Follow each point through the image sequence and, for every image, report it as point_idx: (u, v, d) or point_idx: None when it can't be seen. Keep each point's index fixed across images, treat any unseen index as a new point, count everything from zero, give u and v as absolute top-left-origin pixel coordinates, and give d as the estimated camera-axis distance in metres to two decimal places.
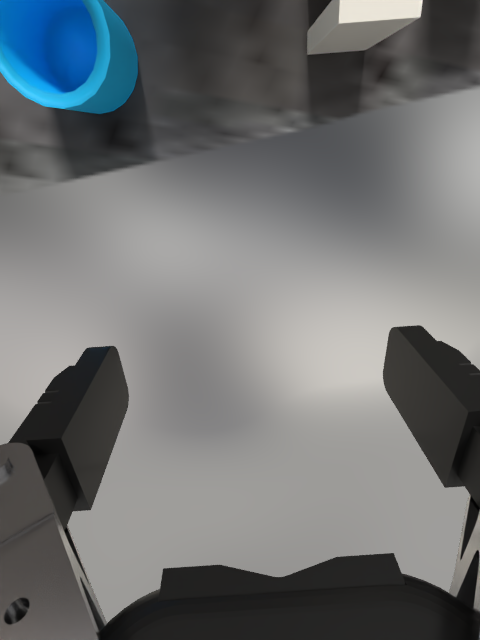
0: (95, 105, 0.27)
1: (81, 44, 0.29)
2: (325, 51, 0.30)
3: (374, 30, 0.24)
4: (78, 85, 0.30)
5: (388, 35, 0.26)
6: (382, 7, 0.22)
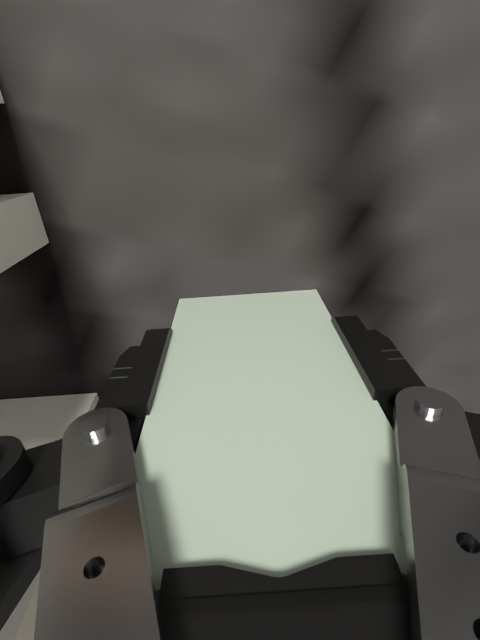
0: None
1: None
2: None
3: None
4: None
5: None
6: None
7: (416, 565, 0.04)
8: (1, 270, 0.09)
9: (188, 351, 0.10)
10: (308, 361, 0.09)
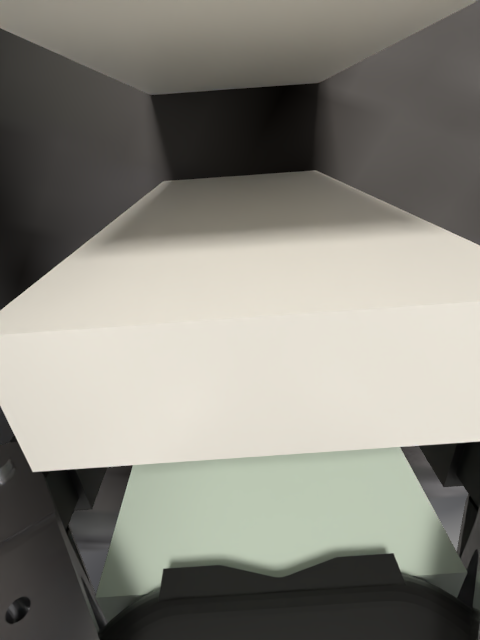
0: None
1: None
2: None
3: None
4: None
5: None
6: None
7: None
8: None
9: None
10: None
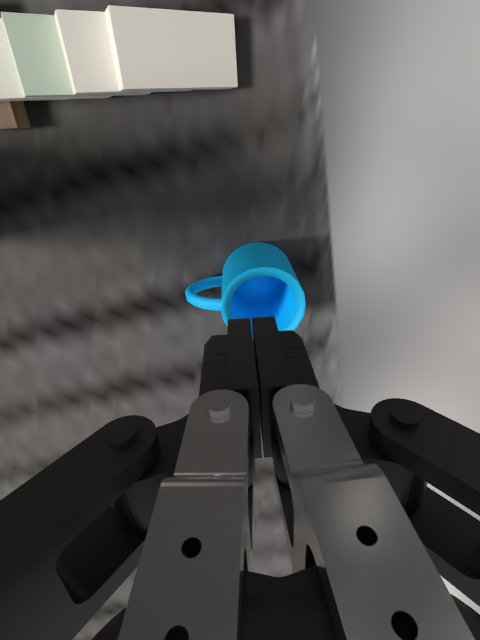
0: None
1: (251, 281, 0.40)
2: (227, 67, 0.31)
3: (150, 39, 0.27)
4: (275, 287, 0.41)
5: (171, 11, 0.27)
6: (114, 49, 0.27)
7: (331, 583, 0.04)
8: None
9: None
10: None
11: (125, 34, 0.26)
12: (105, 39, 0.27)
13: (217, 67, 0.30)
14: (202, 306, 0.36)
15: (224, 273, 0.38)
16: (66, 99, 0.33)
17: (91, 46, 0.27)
